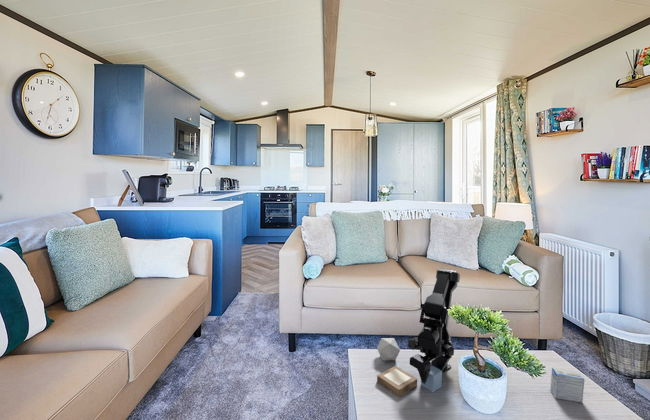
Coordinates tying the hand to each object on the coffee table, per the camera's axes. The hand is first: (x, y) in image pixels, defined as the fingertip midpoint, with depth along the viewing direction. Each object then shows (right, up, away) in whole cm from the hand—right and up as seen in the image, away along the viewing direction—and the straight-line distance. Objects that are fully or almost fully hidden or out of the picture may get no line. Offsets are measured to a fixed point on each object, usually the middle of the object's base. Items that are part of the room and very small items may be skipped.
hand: (431, 378), depth 112 cm
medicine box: (+44, -4, -5) cm, 45 cm away
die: (-12, -1, +17) cm, 21 cm away
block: (0, -3, 0) cm, 3 cm away
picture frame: (-12, -3, +1) cm, 12 cm away
